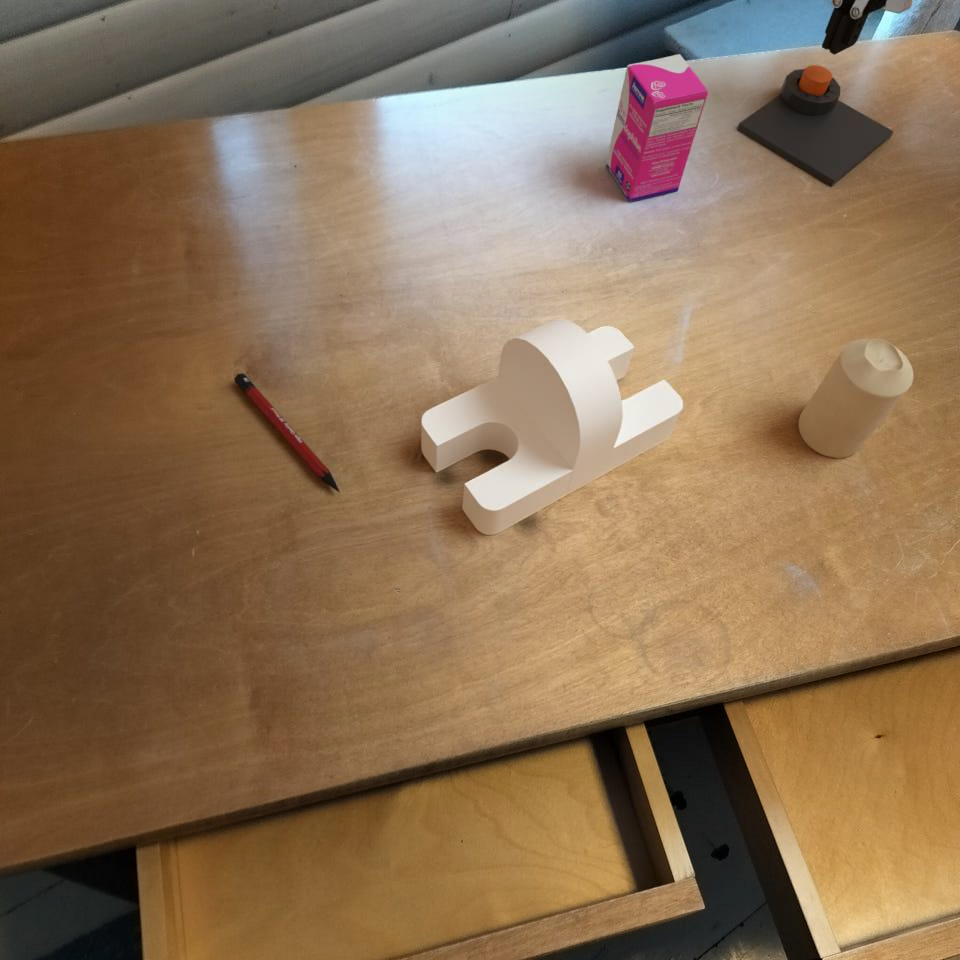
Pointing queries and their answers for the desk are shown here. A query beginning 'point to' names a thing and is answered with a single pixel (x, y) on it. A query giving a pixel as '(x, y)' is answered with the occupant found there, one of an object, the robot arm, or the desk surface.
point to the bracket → (548, 421)
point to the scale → (815, 130)
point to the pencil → (285, 430)
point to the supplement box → (655, 126)
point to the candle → (855, 397)
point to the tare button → (815, 80)
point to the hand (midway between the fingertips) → (836, 46)
